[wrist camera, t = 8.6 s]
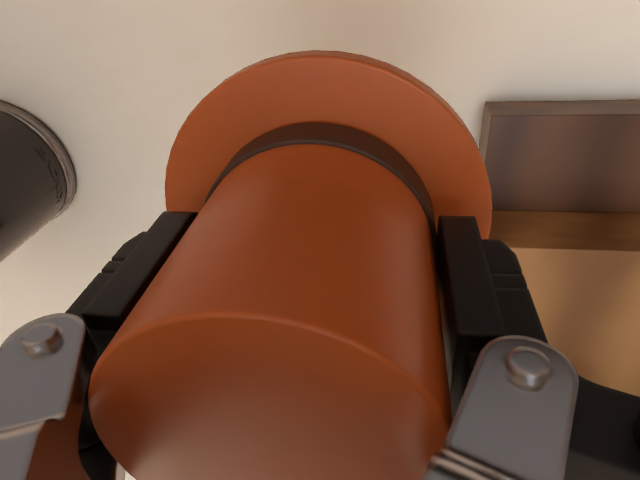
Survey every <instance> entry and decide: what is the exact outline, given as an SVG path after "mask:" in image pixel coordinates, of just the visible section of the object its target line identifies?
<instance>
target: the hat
mask: <svg viewBox="0 0 640 480" xmlns="http://www.w3.org/2000/svg"><path fill="white" fill-rule="evenodd" d="M165 197H166V208H167V211H183V212H197V213H199V214H198V215H197V217H196V218H195V220H194V221H193V223H192V224H191V225H190V227H189V228H188V230H187V231H186V233H185V234H184V236H183V237H182V238H181V240H180V241H179V243H178V244H177V246H176V247H175V249H174V250H173V252H172V253H171V254H170V256H169V257H168V259H167V260H166V262H165V263H164V265H163V266H162V268H161V269H160V270H159V272H158V273H157V275H156V276H155V278H154V279H153V281H152V282H151V284H150V285H149V286H148V288H147V289H146V291H145V292H144V294H143V295H142V297H141V298H140V300H139V301H138V302H137V304H136V305H135V307H134V308H133V310H132V311H131V313H130V314H129V315H128V317H127V318H126V320H125V321H124V323H123V324H122V326H121V327H120V329H119V330H118V331H117V333H116V334H115V336H114V337H113V339H112V340H111V342H110V343H109V345H108V346H107V347H106V349H105V350H104V352H103V353H102V355H101V356H100V358H99V359H98V361H97V363H96V365H95V367H94V369H93V372H92V374H91V378H90V383H89V388H88V408H89V412H90V416H91V420H92V423H93V425H94V428H95V430H96V432H97V434H98V436H99V438H100V439H101V441H102V443H103V444H104V446H105V447H106V449H107V450H108V451H109V453H110V454H111V455H112V456H113V458H114V459H115V460H116V461H117V462H118V463H119V464H120V465H121V466H122V467H123V468H124V469H125V470H126V471H127V472H128V473H129V474H130V475H131V476H133V477H134V478H135V479H136V480H422V477H423V475H424V473H425V470H426V468H427V466H428V464H429V461H430V459H431V458H432V456H433V454H434V453H435V452H436V451H437V452H440V451H441V449H442V447H443V445H444V442H445V440H446V437H447V435H448V432H449V430H450V427H451V425H452V422H453V417H452V409H451V400H450V391H449V382H448V373H447V364H446V355H445V346H444V337H443V328H442V320H441V311H440V302H439V293H438V284H437V275H436V266H435V262H436V252H437V227H438V219H439V216H475V218H476V221H477V224H478V228H479V232H480V236H481V239H488V238H489V234H490V229H491V220H492V198H491V187H490V183H489V179H488V175H487V171H486V167H485V165H484V162H483V159H482V157H481V154H480V152H479V150H478V147H477V145H476V142H475V140H474V138H473V137H472V135H471V133H470V132H469V130H468V128H467V127H466V125H465V124H464V122H463V120H462V119H461V118H460V117H459V116H458V115H457V113H456V112H455V111H454V110H453V109H452V107H451V106H450V105H449V104H448V103H447V102H446V101H445V100H444V99H443V98H442V97H440V96H439V95H438V94H437V93H436V92H435V91H434V90H433V89H432V88H430V87H429V86H427V85H426V84H424V83H423V82H421V81H420V80H418V79H417V78H415V77H414V76H412V75H411V74H409V73H407V72H405V71H403V70H401V69H399V68H397V67H395V66H392V65H390V64H388V63H386V62H382V61H379V60H376V59H373V58H370V57H367V56H364V55H358V54H352V53H346V52H341V51H320V50H311V51H302V52H293V53H287V54H283V55H279V56H275V57H271V58H267V59H264V60H262V61H260V62H257V63H255V64H252V65H250V66H248V67H245V68H243V69H242V70H240V71H238V72H237V73H235V74H234V75H232V76H230V77H229V78H227V79H225V80H224V81H223V82H222V83H221V84H219V85H218V86H217V87H216V88H215V89H214V90H212V91H211V92H210V93H209V94H208V95H207V96H205V97H204V98H203V99H202V100H201V101H200V103H199V104H198V105H197V106H196V107H195V108H194V110H193V111H192V112H191V113H190V114H189V116H188V117H187V119H186V120H185V122H184V124H183V125H182V127H181V129H180V130H179V132H178V134H177V136H176V139H175V141H174V144H173V146H172V148H171V152H170V156H169V160H168V164H167V168H166V180H165Z"/></svg>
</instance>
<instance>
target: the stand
mask: <svg viewBox="0 0 640 480" xmlns="http://www.w3.org/2000/svg"><path fill="white" fill-rule="evenodd" d="M479 152H480V154H481V157H482V159H483V162H484V165H485V167H486V171H487V175H488V179H489V183H490V187H491V198H492V220H491V229H490V234H489V238H488V239H494V240H501V241H502V242H503V243H505V244H506V245H507V246H508V247H509V248H510V249H511V250H512V251H513V252H514V253H515V254H516V255H517V258H518V261H519V264H520V267H521V269H522V275H524V278H525V280H526V283H527V289H529V291H530V294H531V297H532V300H533V303H534V305H535V308H536V311H537V314H538V316H539V319H540V322H541V325H542V327H543V330H544V333H545V336H546V339H547V341H548V344H549V345H551V346H553V347H554V348H556V349H557V350H559V351H560V352H561V353H563V354H564V355H565V356H566V357H567V358H568V359H569V360H570V362H571V363H572V364H573V366H574V368H575V370H576V372H577V374H578V375H579V376H581V377H583V378H585V379H587V380H589V381H591V382H594V383H596V384H599V385H602V386H605V387H608V388H612V389H615V390H618V391H622V392H625V393H628V394H632V395H635V396H638V397H640V100H606V101H537V102H486V103H485V106H484V113H483V121H482V128H481V135H480V143H479Z"/></svg>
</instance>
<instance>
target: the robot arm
mask: <svg viewBox="0 0 640 480" xmlns="http://www.w3.org/2000/svg"><path fill="white" fill-rule="evenodd" d="M75 187H76V181H75V174H74V170H73V167H72V164H71V161H70V159H69V157H68V155H67V153H66V151H65V150H64V148H63V146H62V145H61V144H60V142H59V141H58V140H57V138H56V137H55V136H54V135H53V134H52V133H51V132H50V131H49V130H48V129H47V128H46V127H45V126H44V125H43V124H42V123H41V122H39V121H38V120H37V119H36V118H34V117H33V116H31V115H30V114H28V113H26V112H25V111H23V110H21V109H19V108H17V107H14V106H12V105H9V104H6V103H3V102H0V262H2V261H3V260H4V259H5V258H6V257H7V256H9V255H10V254H11V253H12V252H13V251H15V250H16V249H17V248H18V247H19V246H20V245H22V244H23V243H24V242H25V241H26V240H28V239H29V238H30V237H31V236H32V235H34V234H35V233H36V232H37V231H38V230H39V229H41V228H42V227H43V226H44V225H45V224H46V223H48V222H49V221H50V220H52V219H54V218H56V217H57V216H58V215H59V214H61V213H62V212H63V211H64V210H65V209H66V208H67V207H68V206H69V205H70V203H71V202H72V200H73V197H74V194H75ZM198 214H199V213H197V212H183V211H165V212H163V213H162V214H161V215H160V216H159V218H158V219H157V220H156V221H155V222H154V224H153V225H152V226H151V227H150V229H149V230H148V231H147V232H142V233H140V234H138V235H137V236H135V237H134V238H132V239H131V240H129V241H128V242H126V243H125V244H123V246H122V247H121V248H120V249H119V250H118V251H117V253H116V254H115V255H114V256H113V257H112V261H109V262H108V263H107V264H106V265H105V267H104V268H103V269H102V273H99V274H98V275H97V276H96V277H95V278H94V279H93V281H92V282H91V283H90V284H89V285H88V286H87V288H86V289H85V290H84V291H83V292H82V294H81V295H80V296H79V297H78V298H77V299H76V301H75V302H74V303H73V304H72V305H71V306H70V308H69V309H68V310H67V311H66V312H65V313H58V314H51V315H47V316H44V317H41V318H38V319H35V320H33V321H31V322H29V323H27V324H25V325H23V326H22V327H20V328H19V329H17V330H16V331H15V332H13V333H12V334H11V335H10V336H9V337H8V338H7V339H6V340H5V341H4V343H3V344H2V345H1V347H0V480H125V469H124V468H123V467H122V466H121V465H120V464H119V463H118V462H117V461H116V460H115V459H114V458H113V456H112V455H111V454H110V453H109V451H108V450H107V449H106V447H105V446H104V444H103V443H102V441H101V439H100V438H99V436H98V434H97V432H96V430H95V428H94V425H93V423H92V420H91V416H90V412H89V408H88V388H89V383H90V378H91V374H92V372H93V369H94V367H95V365H96V363H97V361H98V359H99V358H100V356H101V355H102V353H103V352H104V350H105V349H106V347H107V346H108V345H109V343H110V342H111V340H112V339H113V337H114V336H115V334H116V333H117V331H118V330H119V329H120V327H121V326H122V324H123V323H124V321H125V320H126V318H127V317H128V315H129V314H130V313H131V311H132V310H133V308H134V307H135V305H136V304H137V302H138V301H139V300H140V298H141V297H142V295H143V294H144V292H145V291H146V289H147V288H148V286H149V285H150V284H151V282H152V281H153V279H154V278H155V276H156V275H157V273H158V272H159V270H160V269H161V268H162V266H163V265H164V263H165V262H166V260H167V259H168V257H169V256H170V254H171V253H172V252H173V250H174V249H175V247H176V246H177V244H178V243H179V241H180V240H181V238H182V237H183V236H184V234H185V233H186V231H187V230H188V228H189V227H190V225H191V224H192V223H193V221H194V220H195V218H196V217H197V215H198ZM435 266H436V275H437V284H438V293H439V302H440V311H441V320H442V328H443V337H444V346H445V355H446V364H447V373H448V382H449V391H450V400H451V409H452V417H453V422H452V425H451V427H450V430H449V432H448V435H447V437H446V440H445V442H444V445H443V447H442V449H441V451H440V452H437V451H436V452H435V453H434V454H433V456H432V458H431V459H430V461H429V464H428V466H427V468H426V470H425V473H424V475H423V477H422V480H640V397H638V396H635V395H632V394H628V393H625V392H622V391H618V390H615V389H612V388H608V387H605V386H602V385H599V384H596V383H594V382H591V381H589V380H587V379H585V378H583V377H581V376H579V375H578V374H577V372H576V370H575V368H574V366H573V364H572V363H571V362H570V360H569V359H568V358H567V357H566V356H565V355H564V354H563V353H561V352H560V351H559V350H557V349H556V348H554V347H553V346H551V345H549V344H548V341H547V339H546V336H545V333H544V330H543V327H542V325H541V322H540V319H539V316H538V314H537V311H536V308H535V305H534V303H533V300H532V297H531V294H530V291H529V289H527V283H526V280H525V278H524V275H522V269H521V267H520V264H519V261H518V258H517V255H516V254H515V253H514V252H513V251H512V250H511V249H510V248H509V247H508V246H507V245H506V244H505V243H503V242H502V241H501V240H494V239H481V236H480V232H479V228H478V224H477V221H476V218H475V216H439V219H438V227H437V252H436V262H435Z"/></svg>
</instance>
